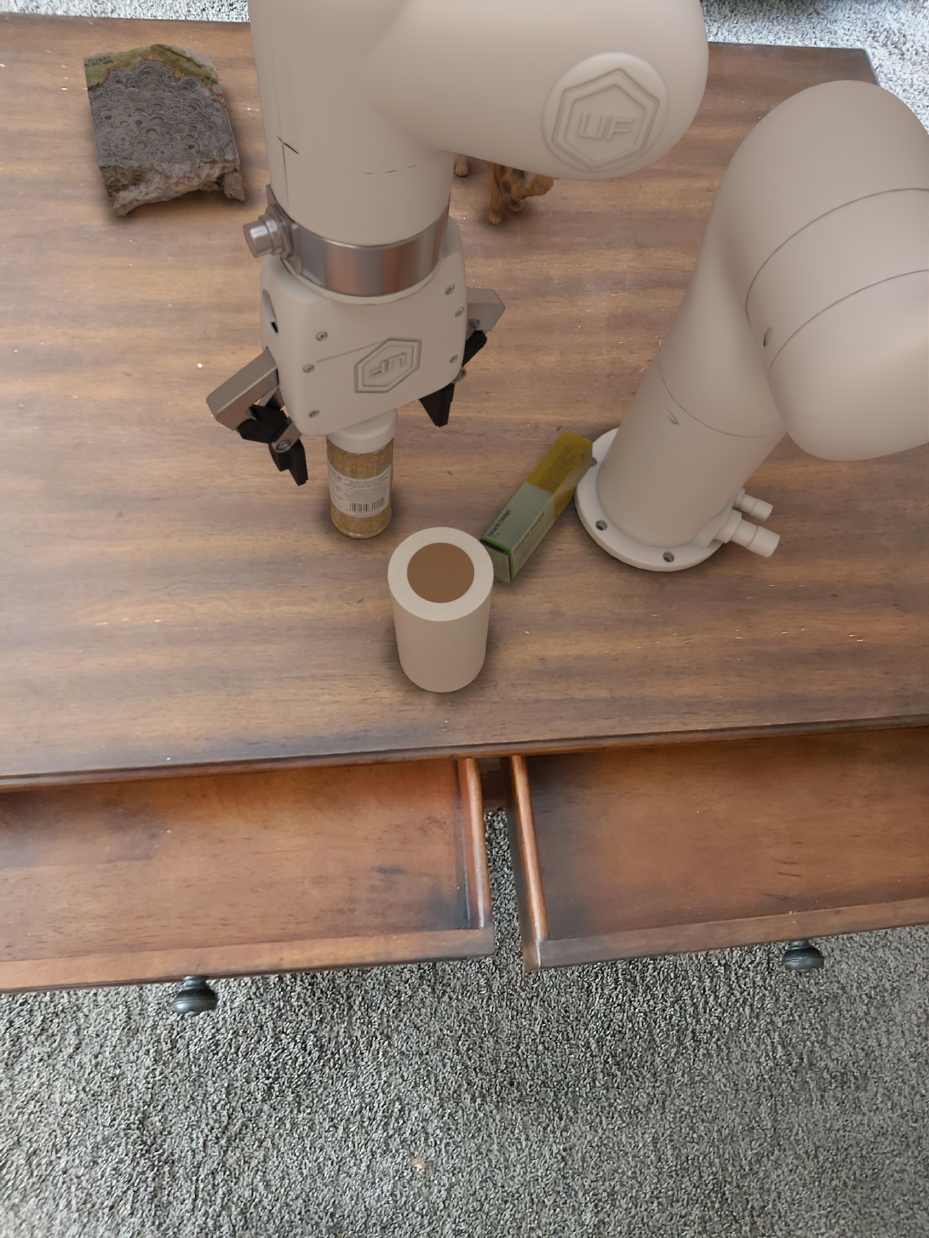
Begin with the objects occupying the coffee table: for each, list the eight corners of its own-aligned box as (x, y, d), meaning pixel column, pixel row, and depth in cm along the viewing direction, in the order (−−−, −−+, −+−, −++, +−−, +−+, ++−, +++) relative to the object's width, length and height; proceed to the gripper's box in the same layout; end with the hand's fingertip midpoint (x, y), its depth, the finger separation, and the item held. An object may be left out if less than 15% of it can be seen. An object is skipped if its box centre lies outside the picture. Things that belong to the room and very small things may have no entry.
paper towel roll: (498, 633, 59) (510, 550, 47) (462, 707, 56) (466, 637, 45) (422, 600, 59) (416, 511, 48) (383, 671, 57) (368, 594, 46)
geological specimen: (99, 177, 64) (73, 34, 68) (122, 236, 70) (97, 101, 74) (239, 160, 66) (206, 22, 70) (251, 219, 71) (219, 88, 76)
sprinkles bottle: (393, 489, 62) (400, 375, 50) (389, 543, 61) (396, 439, 48) (331, 484, 62) (323, 368, 50) (326, 539, 60) (316, 432, 48)
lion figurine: (561, 232, 74) (586, 141, 66) (513, 254, 72) (533, 164, 64) (467, 126, 77) (479, 27, 69) (419, 144, 76) (426, 46, 68)
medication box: (511, 587, 61) (507, 557, 57) (480, 572, 62) (474, 541, 58) (593, 473, 65) (594, 438, 61) (563, 460, 66) (562, 425, 62)
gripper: (209, 345, 33) (260, 540, 49) (571, 216, 38) (510, 433, 53) (136, 213, 35) (208, 441, 51) (488, 106, 40) (453, 346, 55)
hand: (363, 437), depth 52 cm, fingers open, 9 cm apart
